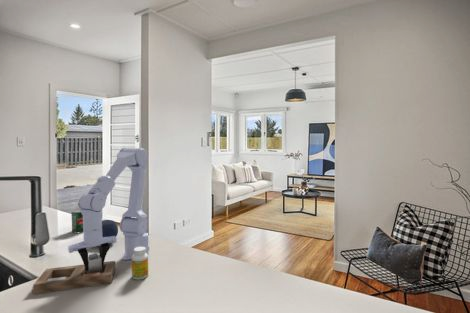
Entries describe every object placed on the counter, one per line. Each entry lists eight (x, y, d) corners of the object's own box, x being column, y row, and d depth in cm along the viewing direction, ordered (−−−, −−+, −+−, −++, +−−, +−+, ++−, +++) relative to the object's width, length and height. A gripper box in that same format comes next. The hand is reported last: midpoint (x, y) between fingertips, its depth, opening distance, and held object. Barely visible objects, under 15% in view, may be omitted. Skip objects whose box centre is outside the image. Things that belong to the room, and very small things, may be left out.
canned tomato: (83, 233, 142) (83, 212, 141) (68, 233, 142) (67, 212, 141) (92, 228, 150) (91, 208, 149) (77, 228, 150) (76, 208, 149)
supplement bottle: (133, 281, 93) (132, 252, 92) (131, 274, 98) (130, 247, 97) (149, 277, 95) (149, 249, 95) (146, 271, 100) (146, 244, 100)
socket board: (115, 268, 102) (115, 259, 102) (111, 283, 92) (110, 273, 91) (46, 277, 96) (46, 267, 96) (33, 294, 85) (33, 283, 85)
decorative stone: (98, 239, 133) (97, 218, 132) (122, 239, 133) (122, 218, 132) (84, 248, 121) (83, 226, 121) (111, 248, 121) (110, 226, 120)
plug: (98, 270, 98) (98, 251, 98) (102, 274, 95) (101, 255, 95) (86, 274, 96) (85, 254, 95) (89, 278, 92) (88, 258, 92)
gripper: (111, 221, 102) (112, 258, 103) (66, 230, 93) (67, 269, 93) (117, 226, 96) (119, 264, 97) (69, 235, 87) (71, 277, 88)
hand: (94, 267), depth 95 cm, fingers closed on plug, 4 cm apart
